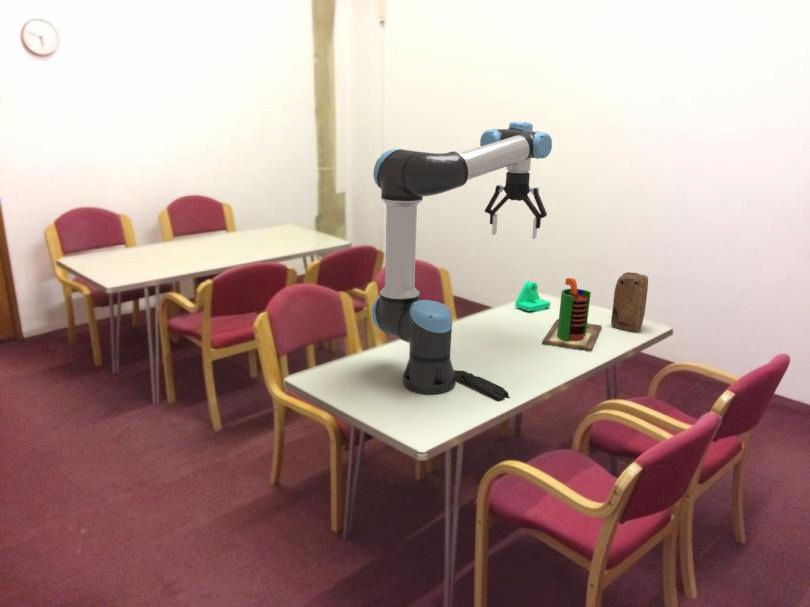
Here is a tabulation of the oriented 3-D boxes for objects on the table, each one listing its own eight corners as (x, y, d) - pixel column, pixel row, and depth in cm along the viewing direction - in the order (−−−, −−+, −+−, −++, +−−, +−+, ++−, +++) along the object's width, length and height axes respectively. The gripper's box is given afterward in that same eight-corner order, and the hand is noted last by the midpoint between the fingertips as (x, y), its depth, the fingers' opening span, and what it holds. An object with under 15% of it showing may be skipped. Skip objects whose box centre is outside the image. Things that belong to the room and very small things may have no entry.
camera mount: (528, 314, 257) (530, 288, 254) (515, 308, 263) (516, 283, 260) (551, 308, 264) (553, 283, 261) (536, 303, 270) (538, 279, 266)
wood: (517, 397, 187) (518, 386, 187) (499, 403, 183) (500, 393, 182) (462, 371, 204) (463, 362, 203) (444, 377, 199) (445, 367, 198)
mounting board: (542, 344, 226) (542, 335, 225) (556, 322, 248) (557, 313, 247) (591, 351, 220) (591, 342, 219) (601, 328, 242) (602, 320, 241)
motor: (576, 343, 223) (582, 285, 217) (551, 337, 228) (556, 280, 222) (589, 335, 230) (594, 279, 224) (564, 329, 235) (569, 274, 229)
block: (644, 328, 242) (651, 274, 236) (637, 334, 237) (644, 279, 231) (615, 322, 249) (621, 269, 243) (607, 327, 243) (613, 273, 237)
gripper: (559, 172, 216) (553, 237, 223) (484, 168, 225) (481, 230, 232) (554, 174, 210) (549, 241, 216) (477, 170, 219) (474, 234, 225)
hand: (514, 236), depth 224 cm, fingers open, 13 cm apart
